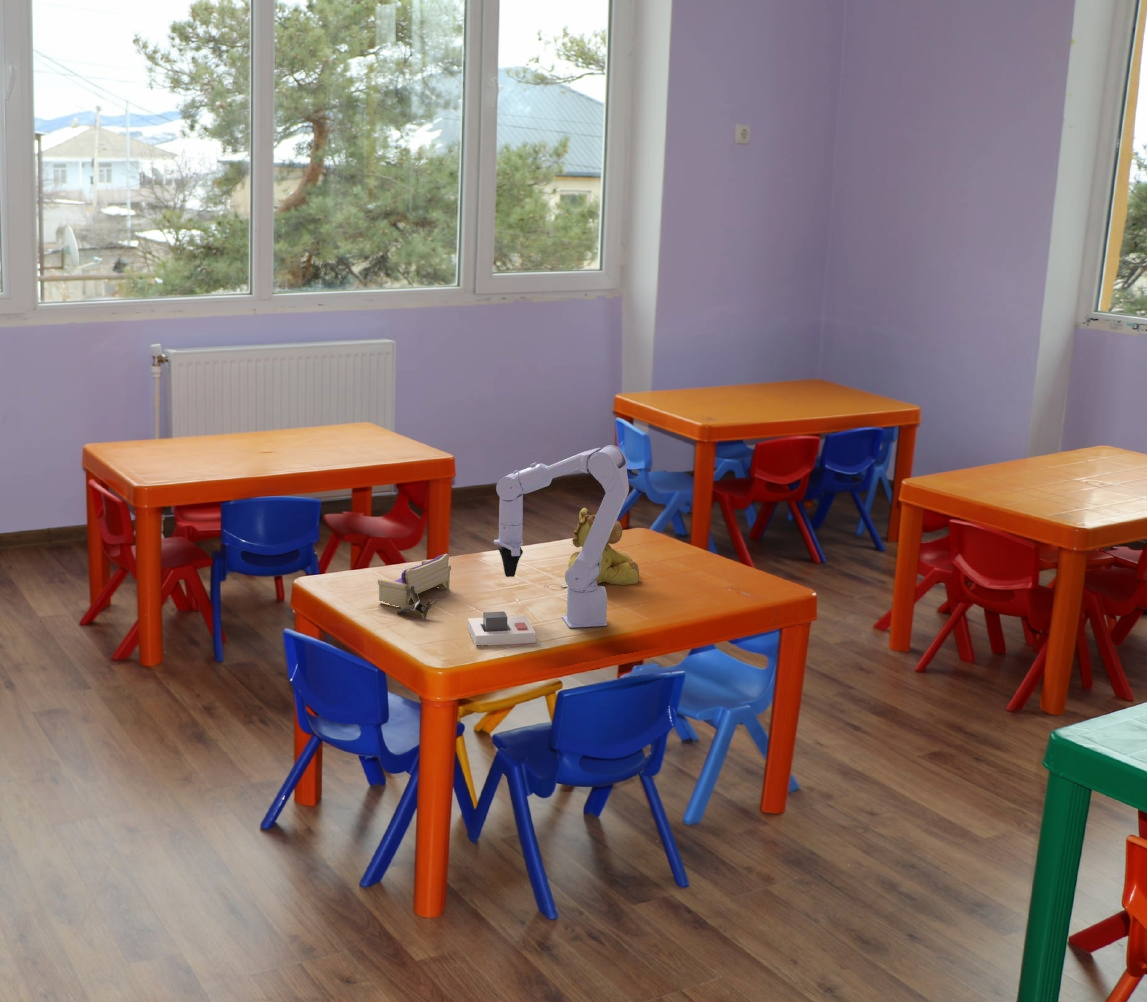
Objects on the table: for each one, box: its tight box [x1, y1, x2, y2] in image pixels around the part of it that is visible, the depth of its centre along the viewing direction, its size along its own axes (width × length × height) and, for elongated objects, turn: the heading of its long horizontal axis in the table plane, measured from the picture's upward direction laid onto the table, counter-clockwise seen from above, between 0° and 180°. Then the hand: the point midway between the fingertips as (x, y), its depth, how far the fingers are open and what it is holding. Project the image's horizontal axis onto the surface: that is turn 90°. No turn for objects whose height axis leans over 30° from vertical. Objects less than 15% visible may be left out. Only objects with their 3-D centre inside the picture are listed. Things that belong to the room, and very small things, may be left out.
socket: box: [467, 615, 537, 647], centre depth 300 cm, size 14×12×3 cm
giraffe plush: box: [560, 507, 640, 588], centre depth 342 cm, size 20×24×19 cm
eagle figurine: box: [396, 586, 438, 619], centre depth 312 cm, size 8×7×9 cm
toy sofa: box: [377, 553, 452, 609], centre depth 326 cm, size 21×9×10 cm, turn 152°
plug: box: [482, 610, 508, 632], centre depth 299 cm, size 5×4×5 cm
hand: (509, 576), depth 315 cm, fingers closed
